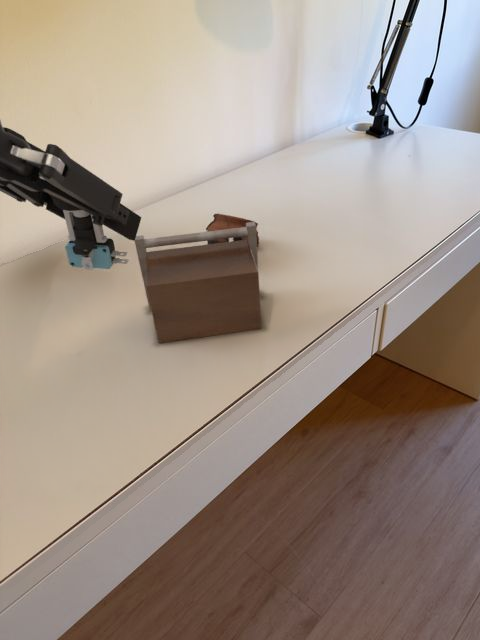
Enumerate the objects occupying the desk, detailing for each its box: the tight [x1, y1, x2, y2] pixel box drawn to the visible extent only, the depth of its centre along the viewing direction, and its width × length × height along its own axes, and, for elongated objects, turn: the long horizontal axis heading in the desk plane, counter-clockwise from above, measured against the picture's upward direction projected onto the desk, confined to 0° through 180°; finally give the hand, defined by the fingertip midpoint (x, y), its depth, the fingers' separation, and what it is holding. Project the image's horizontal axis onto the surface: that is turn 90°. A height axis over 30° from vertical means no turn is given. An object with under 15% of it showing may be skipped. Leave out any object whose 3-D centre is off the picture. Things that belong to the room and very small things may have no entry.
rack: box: [134, 221, 262, 344], centre depth 71 cm, size 9×16×12 cm, turn 100°
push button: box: [49, 194, 130, 271], centre depth 55 cm, size 7×5×10 cm
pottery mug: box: [205, 213, 260, 248], centre depth 86 cm, size 12×10×8 cm
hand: (113, 224), depth 59 cm, fingers closed on push button, 5 cm apart
